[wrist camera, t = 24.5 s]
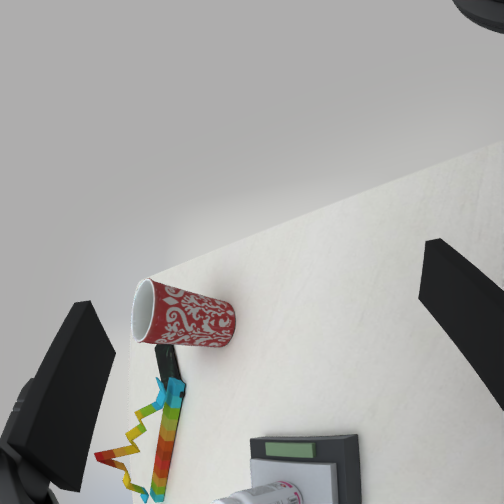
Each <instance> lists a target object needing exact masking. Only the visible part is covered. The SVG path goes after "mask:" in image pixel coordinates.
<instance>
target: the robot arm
mask: <svg viewBox="0 0 504 504" xmlns="http://www.w3.org/2000/svg"><path fill="white" fill-rule="evenodd" d="M492 1H495V2H499V3H504V0H492ZM418 299H419V300H420V301H421V302H422V304H423V305H424V306H425V307H426V308H427V310H428V311H429V312H430V313H431V314H432V316H433V317H434V318H435V319H436V321H437V322H438V323H439V324H440V326H441V327H442V328H443V329H444V331H445V332H446V333H447V334H448V336H449V337H450V338H451V339H452V341H453V342H454V343H455V345H456V346H457V347H458V349H459V350H460V351H461V352H462V354H463V355H464V356H465V358H466V359H467V360H468V362H469V363H470V364H471V366H472V367H473V368H474V370H475V371H476V373H477V374H478V375H479V377H480V378H481V380H482V381H483V382H484V384H485V385H486V387H487V388H488V389H489V391H490V392H491V394H492V395H493V397H494V398H495V400H496V401H497V402H498V404H499V405H500V407H501V408H502V410H503V411H504V291H503V290H502V289H501V288H500V287H498V286H497V285H496V284H495V283H494V282H493V281H492V280H491V279H489V278H488V277H487V276H486V275H485V274H484V273H482V272H481V271H480V270H479V269H478V268H477V267H475V266H474V265H473V264H472V263H471V262H469V261H468V260H467V259H466V258H465V257H463V256H462V255H461V254H460V253H458V252H457V251H456V250H455V249H453V248H452V247H451V246H450V245H448V244H447V243H446V242H445V241H443V240H442V239H441V238H439V239H434V240H429V241H426V242H425V252H424V261H423V269H422V277H421V284H420V291H419V297H418ZM115 355H116V352H115V350H114V348H113V346H112V344H111V342H110V340H109V338H108V336H107V334H106V332H105V331H104V328H103V326H102V324H101V322H100V320H99V318H98V316H97V314H96V312H95V309H94V307H93V305H92V303H91V301H83V302H76V303H74V305H73V306H72V308H71V310H70V312H69V313H68V315H67V317H66V318H65V320H64V322H63V324H62V326H61V328H60V329H59V331H58V333H57V335H56V337H55V338H54V340H53V342H52V344H51V346H50V348H49V350H48V352H47V353H46V355H45V357H44V359H43V361H42V363H41V365H40V367H39V369H38V372H37V374H36V375H35V378H31V379H30V380H29V381H28V382H27V383H26V385H25V386H24V387H23V388H22V390H21V392H20V394H19V396H18V399H17V402H16V403H15V405H14V407H13V411H12V412H11V414H10V416H9V419H8V421H7V423H6V426H5V428H4V431H3V433H2V435H1V438H0V504H59V503H58V501H57V499H56V497H55V495H54V493H53V492H52V491H51V489H49V484H50V481H51V482H52V483H53V484H55V485H56V486H57V487H59V488H60V489H63V490H68V491H74V492H80V489H81V484H82V479H83V474H84V470H85V465H86V461H87V456H88V452H89V448H90V444H91V439H92V435H93V431H94V428H95V424H96V420H97V416H98V412H99V409H100V405H101V401H102V398H103V394H104V391H105V387H106V384H107V381H108V377H109V374H110V371H111V367H112V364H113V361H114V358H115Z"/></svg>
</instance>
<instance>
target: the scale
mask: <svg viewBox="0 0 504 504" xmlns="http://www.w3.org/2000/svg"><path fill="white" fill-rule="evenodd" d="M250 448H251V459H250V470H251V484H252V488H255V487H259V486H263V485H267V484H271V483H274V482H278V481H287V482H290V483H291V484H293V485H294V486H295V487H296V488H297V489H298V491H299V492H300V494H301V496H302V500H303V504H361V480H360V462H359V447H358V435H357V434H354V435H340V436H319V437H259V438H251V439H250Z"/></svg>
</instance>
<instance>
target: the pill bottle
mask: <svg viewBox="0 0 504 504" xmlns="http://www.w3.org/2000/svg"><path fill="white" fill-rule="evenodd" d="M211 504H303V500H302V496H301V494H300V492H299V491H298V489H297V488H296V487H295V486H294V485H293V484H291V483H290V482H287V481H278V482H274V483H271V484H267V485H263V486H259V487H255V488H251V489H247V490H243V491H238V492H235V493H233V494H231V495H230V496H229V497H225V498H221V499H217V500H214V501H213V502H212V503H211Z"/></svg>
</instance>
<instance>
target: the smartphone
mask: <svg viewBox="0 0 504 504" xmlns="http://www.w3.org/2000/svg"><path fill="white" fill-rule="evenodd" d="M172 346H173V345H172V344H157V345H156V347H155V353H156V358H157V363H158V368H159V373H160V377H161V382H162V383H163V385H164V388H165V391H166V392H167V386H168V381H169V377H171V378H176V379H177V380H180V376H179V373H178V369H177V365H176V360H175V356H174V352H173V348H172ZM183 396H184V392H183V391H181V392H180V396H179V397H180V398H182V397H183Z"/></svg>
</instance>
